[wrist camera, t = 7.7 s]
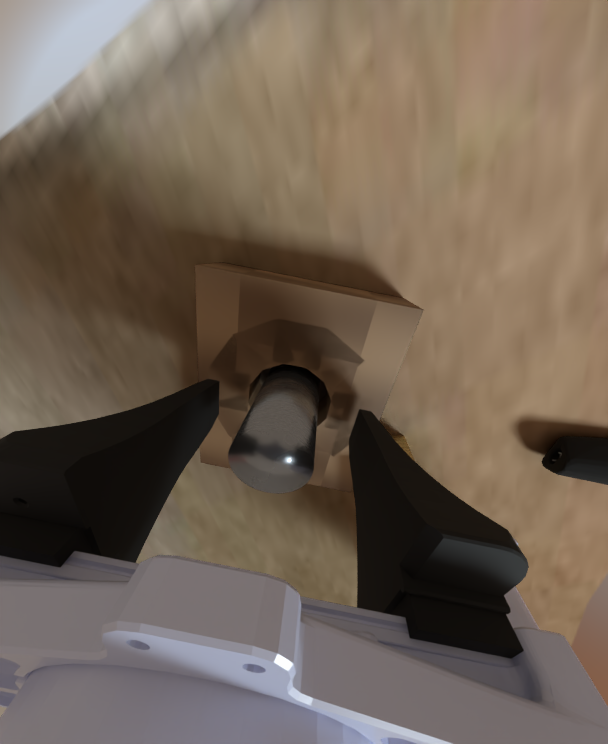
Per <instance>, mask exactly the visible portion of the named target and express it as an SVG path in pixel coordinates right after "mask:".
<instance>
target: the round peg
mask: <svg viewBox="0 0 608 744" xmlns="http://www.w3.org/2000/svg"><path fill="white" fill-rule="evenodd" d="M319 391H320V378H318V377H317V376H316V375H315V374H313V373H312V372H311V371H310V370H308V369H307V368H303V367H298V366H293V365H288V364H281V365H278V366H274V367H271V369H270V371H269V373H268V375H267V377H266V378H265V380H264V382H263V384H262V386H261V388H260V390H259V392H258V394H257V396H256V398H255V400H254V402H253V404H252V405H251V407H250V409H249V411H248V413H247V415H246V417H245V419H244V421H243V423H242V425H241V427H240V429H239V431H238V433H237V434H236V436H235V438H234V440H233V442H232V444H231V446H230V449H229V453H228V460H229V464H230V467H231V469H232V470H233V472H234V473H235V475H236V476H237V477H238V478H239V479H240V480H241V481H243V482H244V483H245V484H247V485H249V486H250V487H252V488H254V489H257V490H260V491H263V492H268V493H287V492H292V491H295V490H297V489H299V488H301V487H303V486H304V485H305V484H306V483H307V482H308V481H309V480H310V478H311V476H312V474H313V471H314V458H315V445H316V431H317V418H318V404H319Z"/></svg>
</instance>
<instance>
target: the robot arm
mask: <svg viewBox="0 0 608 744" xmlns="http://www.w3.org/2000/svg"><path fill="white" fill-rule="evenodd" d="M219 383H220V381H217V380H212V379H206V380H203V381H201V382H199V383H196V384H194V385H192V386H190V387H188V388H185V389H183V390H181V391H179V392H176V393H174V394H172V395H169V396H167V397H164V398H162V399H159V400H157V401H154V402H152V403H149V404H146V405H143V406H140V407H137V408H134V409H131V410H128V411H124V412H121V413H117V414H113V415H109V416H105V417H101V418H97V419H92V420H87V421H82V422H77V423H71V424H66V425H60V426H53V427H46V428H38V429H31V430H23V431H14V432H12V433H10V434H9V435H7V436H5V437H3V438H2V439H0V706H2V707H6V708H7V709H6V710H5V711H4V713H3V714H2V716H1V717H0V744H608V707H607V705H606V703H605V702H604V700H603V698H602V697H601V695H600V693H599V692H598V690H597V689H596V687H595V685H594V684H593V682H592V680H591V679H590V677H589V676H588V674H587V672H586V671H585V669H584V668H583V666H582V664H581V663H580V661H579V659H578V658H577V656H576V654H575V653H574V651H573V650H572V648H571V646H570V645H569V643H568V641H567V640H566V638H565V637H564V636H563V635H561V634H559V633H554V632H549V631H544V630H540V629H539V628H538V626H537V624H536V622H535V620H534V619H533V617H532V615H531V613H530V612H529V610H528V608H527V606H526V604H525V603H524V601H523V599H522V597H521V595H520V594H519V592H518V590H517V588H516V587H515V586H516V585H517V584H518V583H520V582H521V581H522V580H523V578H524V577H525V576H526V573H527V570H528V567H529V566H528V562H527V559H526V558H525V556H524V555H523V553H522V552H521V550H520V548H519V547H518V543H517V541H516V540H515V539H514V538H512V536H511V535H510V533H509V531H508V530H507V529H505V528H504V527H502V526H500V525H499V524H497V523H496V522H494V521H492V520H491V519H489V518H488V517H486V516H484V515H483V514H481V513H480V512H478V511H477V510H475V509H474V508H472V507H471V506H469V505H468V504H466V503H465V502H464V501H462V500H461V499H459V498H458V497H456V496H455V495H454V494H452V493H451V492H450V491H448V490H447V489H446V488H445V487H443V486H442V485H441V484H440V483H438V482H437V481H436V480H435V479H434V478H432V477H431V476H430V475H429V474H428V473H427V472H425V471H424V470H423V469H422V468H421V467H420V466H419V465H418V464H417V463H416V462H415V461H414V460H413V459H412V458H411V457H410V456H409V455H408V454H407V453H406V452H405V451H404V450H403V449H402V448H401V447H400V446H399V444H398V443H397V442H396V441H395V440H394V439H393V438H392V436H391V435H390V434H389V433H388V431H387V430H386V429H385V428H384V426H383V425H382V424H381V423H380V421H379V420H378V419H377V418H376V416H375V415H374V414H373V413H372V412H371V411H367V410H362V409H359V411H358V414H357V417H356V420H355V423H354V426H353V429H352V432H351V435H350V438H349V461H350V469H351V476H352V483H353V490H354V496H355V505H356V522H357V561H358V594H357V608H356V607H351V606H346V605H341V604H336V603H331V602H326V601H321V600H316V599H311V598H306V597H301V596H300V595H299V593H298V591H297V590H296V589H295V588H294V587H293V586H291V585H290V584H289V583H288V582H286V581H285V580H283V579H280V578H277V577H274V576H271V575H269V574H265V573H260V572H255V571H250V570H245V569H240V568H235V567H230V566H225V565H220V564H215V563H210V562H205V561H200V560H195V559H190V558H185V557H180V556H171V555H157V556H155V557H152V558H149V559H147V560H145V561H142V562H141V563H140V564H138V563H135V562H136V560H137V558H138V556H139V554H140V552H141V550H142V547H143V545H144V543H145V541H146V539H147V537H148V535H149V533H150V531H151V529H152V527H153V525H154V523H155V521H156V519H157V517H158V515H159V513H160V511H161V509H162V507H163V505H164V503H165V502H166V500H167V498H168V496H169V494H170V492H171V490H172V489H173V487H174V485H175V483H176V481H177V480H178V478H179V476H180V474H181V473H182V471H183V470H184V468H185V466H186V465H187V463H188V462H189V461H190V459H191V458H192V456H193V455H194V453H195V452H196V451H197V449H198V448H199V446H200V445H201V443H202V442H203V441H204V439H205V438H206V436H207V435H208V433H209V432H210V430H211V428H212V427H213V425H214V423H215V421H216V419H217V417H218V415H219Z"/></svg>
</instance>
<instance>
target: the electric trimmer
mask: <svg viewBox="0 0 608 744" xmlns="http://www.w3.org/2000/svg"><path fill="white" fill-rule="evenodd" d="M542 464H543V466H544V467H545V468H546V469H548V470H550V471H552V472H553V473H556V474H558V475H562V476H567V477H572V478H577V479H582V480H587V481H592V482H597V483H601V484H606V485H608V438H590V437H570V436H566V437H561V438H559V439H558V441H557V442H556V443H555V444H554V446H553V447H552V448H551V449H550V450H549V452H548V453H547V454H546V455H545V456H544V458H543V460H542Z"/></svg>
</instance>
